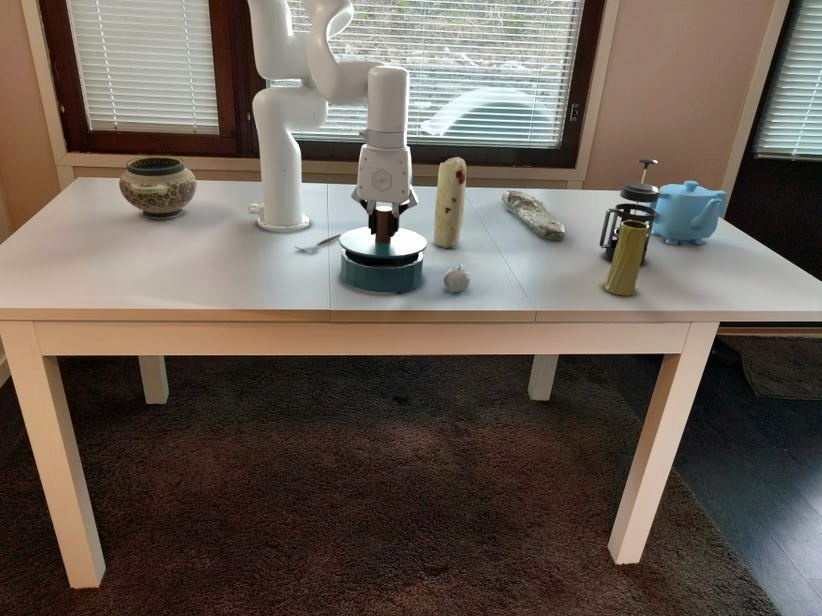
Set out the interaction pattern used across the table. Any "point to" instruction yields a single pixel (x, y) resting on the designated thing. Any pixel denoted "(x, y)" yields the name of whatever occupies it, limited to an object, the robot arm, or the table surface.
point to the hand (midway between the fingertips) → (383, 233)
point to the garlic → (457, 279)
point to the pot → (381, 273)
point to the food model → (449, 202)
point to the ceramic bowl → (158, 185)
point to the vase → (627, 258)
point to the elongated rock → (533, 214)
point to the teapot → (687, 212)
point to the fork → (320, 242)
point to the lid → (382, 239)
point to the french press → (632, 193)
